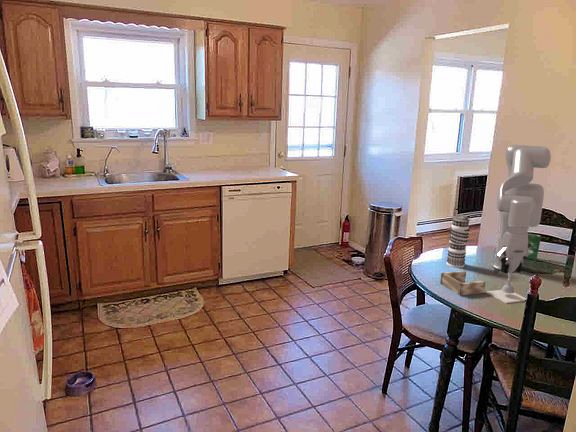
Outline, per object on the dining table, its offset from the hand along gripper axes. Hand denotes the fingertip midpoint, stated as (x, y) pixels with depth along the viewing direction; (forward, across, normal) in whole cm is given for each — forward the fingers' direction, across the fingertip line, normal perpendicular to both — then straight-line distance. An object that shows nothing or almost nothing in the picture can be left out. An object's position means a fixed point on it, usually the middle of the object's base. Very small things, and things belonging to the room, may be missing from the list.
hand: (510, 271), depth 184 cm
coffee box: (+11, -50, -38) cm, 64 cm away
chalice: (+9, 0, 0) cm, 9 cm away
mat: (+11, 0, 0) cm, 11 cm away
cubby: (+11, +12, -12) cm, 21 cm away
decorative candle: (+11, -4, -38) cm, 40 cm away
